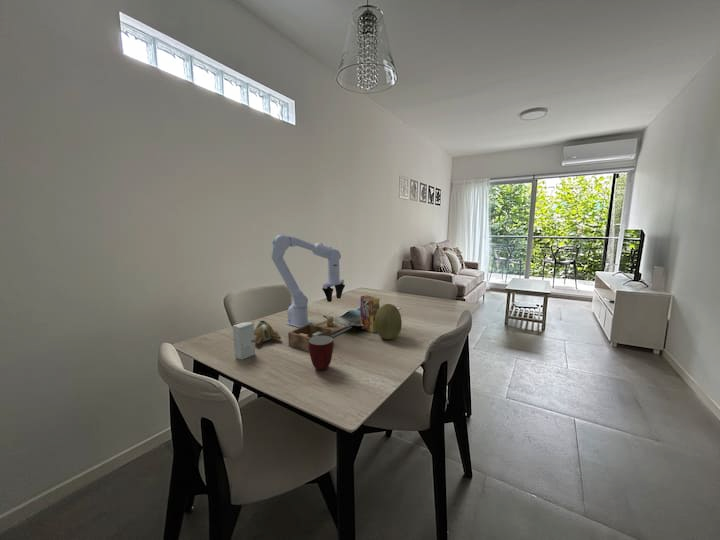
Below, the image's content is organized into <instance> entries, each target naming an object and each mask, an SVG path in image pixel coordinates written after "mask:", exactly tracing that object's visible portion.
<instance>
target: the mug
mask: <svg viewBox="0 0 720 540" xmlns="http://www.w3.org/2000/svg"><path fill="white" fill-rule="evenodd" d="M310 338H311V337H310ZM333 350H334V338H332V337H329V336H315V337H312V338H311V339H309V352H308V353H309V356H310V360H311V364H312V366H313V367H314V369H315V370H316V371H318V372H323V371H326V370H328V369H329V366H330V364H331V362H332V359H333V358H332V357H333Z"/></svg>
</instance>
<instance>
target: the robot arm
mask: <svg viewBox="0 0 720 540" xmlns="http://www.w3.org/2000/svg"><path fill="white" fill-rule="evenodd" d="M271 243H272V247H271V254H270V255H271V257H270V258H271V260H272V261H273V263H274V265H275V267H276V269H277V271H278V272H279V274H280V276H281V277H282V280H283V281H284V284H285V285H286V287H287V289H288V290H289V293H290V295H291V301H292V302H293V303H292V304H291V305H290V306H289V307H288V309H287V322H286V325H288V326H292V327H297V328H300V327H303V326H305V325H308V324H313V322H312V321H309V315H308V314H309V313H308V311H309V310H308V302H309V299H308V297H307V296H306V295H305V293H304V292H303V291H302V290H301V288H300V287H299V285H298V284H297V281H296V279H295V277H294V275H293V274H292V272H291V270H290V268H289V267H288V264H287V263H286V261H285V258H284V255H285V253H286V251H287V250H288V249H289V247H291V248H292V247H293V248H294V247H300V248H302V249H305V250H308V251H311V252H312V253H313V255H315V256H318V257H321V258H323V259H327V282H325V283H323V284H322V287H321V288H322V291H323V293H324V296H325V297H326V302H327V303H328V302H329V303H331V302H332V301H333V292H334V289H335V296H336V299H341V298H342V294H343V291H344V289H345V287H346V284H345V280H344V279H340V277H341V276H340V259H341V257H342V255H341V253H340V251H339V250H338V249H336V248H334V247H332V246H327V245H325V244H324V243H323V242H317V243H310V242H308V241H306V240H303V239H301V238H298V237H296V236H290V235H285V234H278V235H276V236H275V237H274V239H273V241H272V242H271ZM332 287H334V288H332Z"/></svg>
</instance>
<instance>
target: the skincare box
mask: <svg viewBox="0 0 720 540" xmlns="http://www.w3.org/2000/svg"><path fill="white" fill-rule="evenodd" d="M232 335H233V337H232V338H233V350H234V358H236V359H238V360H240V359H241V360H240V361H242V360H244V359H248V358H249V357H252V356H255V355H256V347H255V344H256V343H255V342H254V323H253V322H250V321H244V322H241V323H238V324H232Z"/></svg>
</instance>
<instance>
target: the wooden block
mask: <svg viewBox="0 0 720 540" xmlns="http://www.w3.org/2000/svg"><path fill="white" fill-rule="evenodd" d="M326 320H327V321H326ZM326 320H324V321H322V322H319V323H317V324H315V325H316V326H320V327H324V328H328V329H331V335H333V334H335V333H337V332H339V331H341V330H343V329H346V328H348V327H341V326H337V325H335V324H333V321H334V316H327V317H326Z"/></svg>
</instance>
